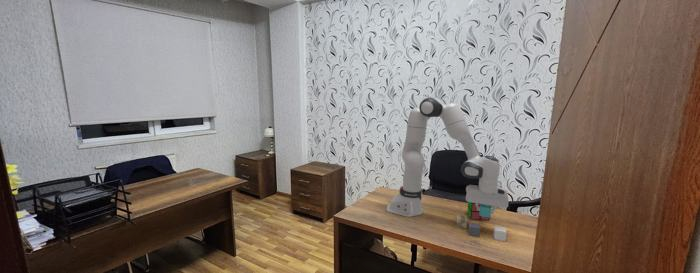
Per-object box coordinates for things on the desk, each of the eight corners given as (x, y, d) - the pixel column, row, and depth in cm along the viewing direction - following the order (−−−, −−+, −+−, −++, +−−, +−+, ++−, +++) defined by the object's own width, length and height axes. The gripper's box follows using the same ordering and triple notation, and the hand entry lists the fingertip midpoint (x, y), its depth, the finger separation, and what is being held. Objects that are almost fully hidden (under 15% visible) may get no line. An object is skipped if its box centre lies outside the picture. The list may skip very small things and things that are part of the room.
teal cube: (479, 215, 150) (480, 207, 150) (479, 212, 155) (480, 203, 154) (490, 217, 149) (491, 208, 148) (489, 213, 153) (490, 205, 152)
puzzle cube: (489, 220, 163) (490, 204, 162) (470, 219, 165) (471, 203, 164) (484, 213, 173) (486, 197, 171) (467, 211, 175) (468, 196, 173)
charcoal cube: (468, 235, 148) (469, 226, 147) (468, 230, 152) (469, 222, 152) (479, 237, 146) (479, 228, 145) (478, 232, 151) (479, 223, 150)
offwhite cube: (494, 239, 144) (495, 230, 143) (493, 234, 148) (494, 225, 147) (505, 241, 142) (506, 232, 141) (504, 236, 146) (505, 227, 145)
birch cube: (456, 227, 156) (457, 218, 156) (456, 223, 161) (457, 214, 160) (466, 228, 155) (466, 220, 154) (466, 224, 159) (466, 216, 158)
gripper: (466, 185, 150) (463, 210, 152) (510, 192, 142) (507, 218, 145) (466, 182, 156) (464, 206, 158) (509, 188, 148) (505, 213, 151)
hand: (485, 212), depth 151 cm, fingers closed on teal cube, 5 cm apart
